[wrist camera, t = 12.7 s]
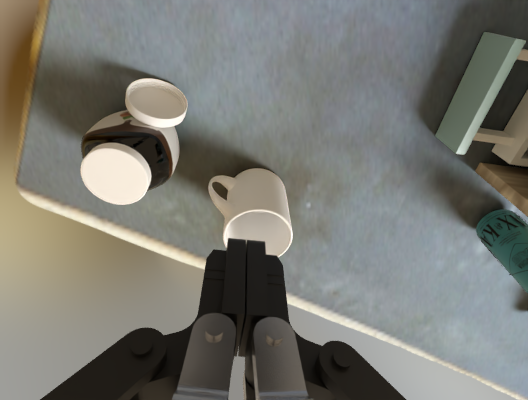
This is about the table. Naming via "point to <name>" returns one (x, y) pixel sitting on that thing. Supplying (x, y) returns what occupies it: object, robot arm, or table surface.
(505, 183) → the open wooden box
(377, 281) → the table surface
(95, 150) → the spread jar
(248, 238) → the mug
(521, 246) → the beverage bottle
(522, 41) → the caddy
